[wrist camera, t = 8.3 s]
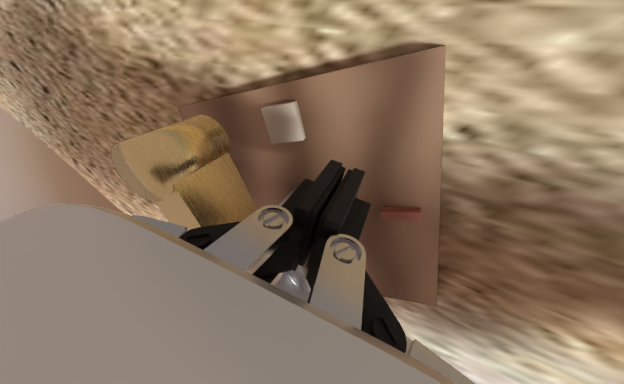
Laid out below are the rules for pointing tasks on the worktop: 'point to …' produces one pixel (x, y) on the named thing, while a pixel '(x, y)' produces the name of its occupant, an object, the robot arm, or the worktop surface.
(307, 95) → the post base
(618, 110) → the worktop surface
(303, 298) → the brass lever handle
